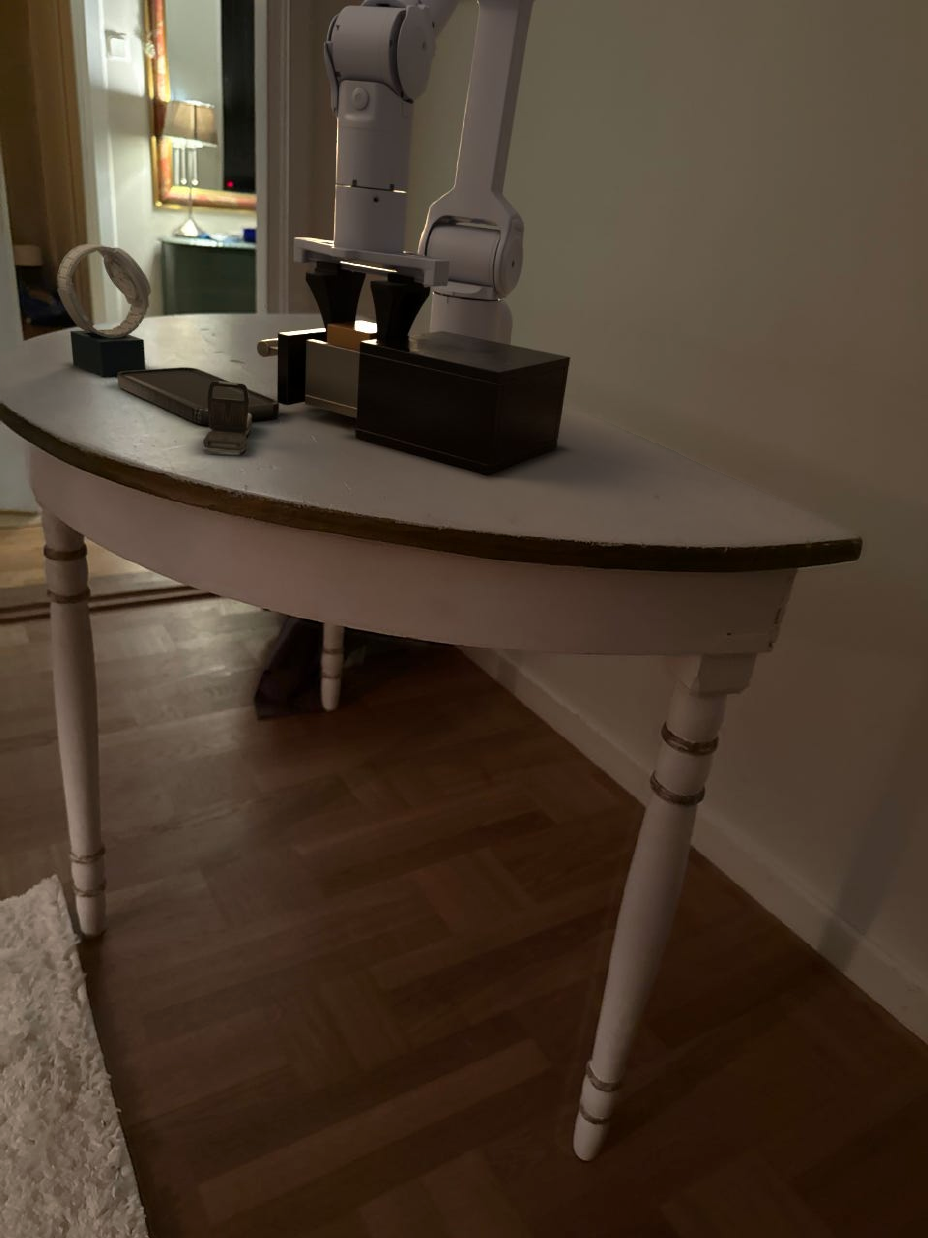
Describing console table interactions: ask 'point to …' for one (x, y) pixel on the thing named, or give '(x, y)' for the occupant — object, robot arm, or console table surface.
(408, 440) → the dark brown box
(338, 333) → the block
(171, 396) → the phone
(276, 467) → the console table surface
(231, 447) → the strap clip
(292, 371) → the drawer
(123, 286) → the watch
